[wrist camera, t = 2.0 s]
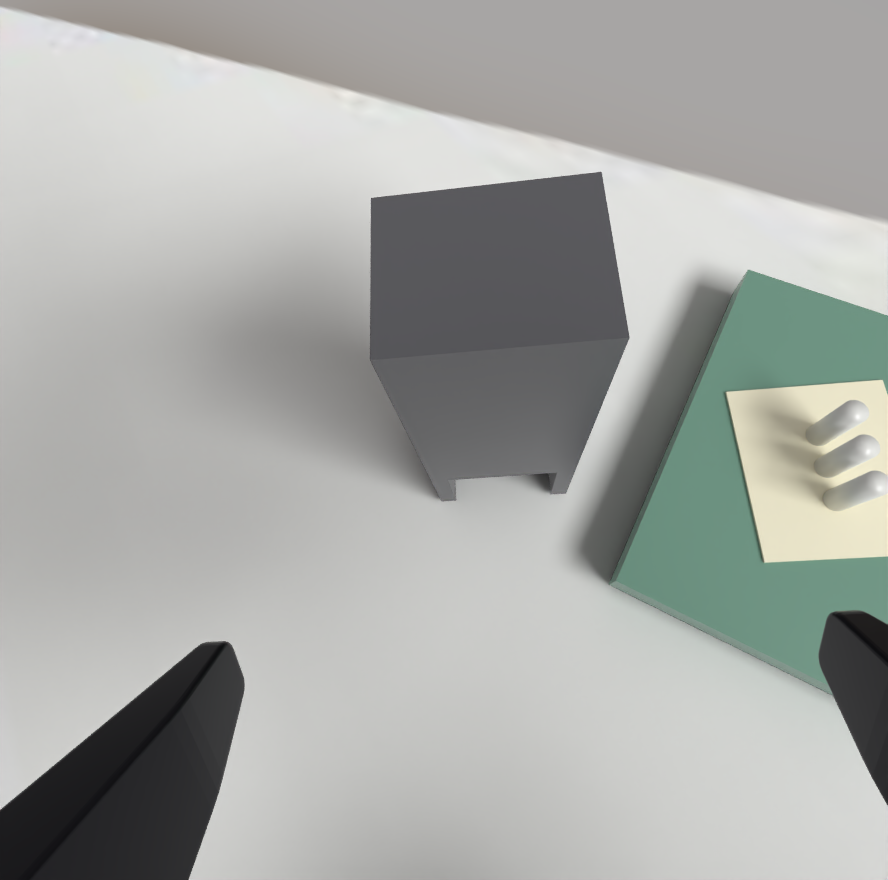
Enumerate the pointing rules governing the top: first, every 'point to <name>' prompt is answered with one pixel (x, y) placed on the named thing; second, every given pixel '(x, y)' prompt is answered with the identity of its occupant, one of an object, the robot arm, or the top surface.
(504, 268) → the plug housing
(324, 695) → the top surface
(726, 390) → the board
